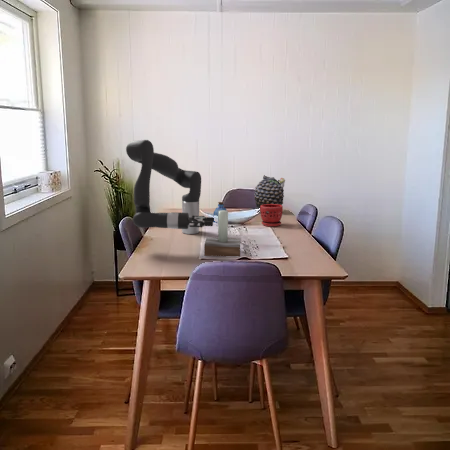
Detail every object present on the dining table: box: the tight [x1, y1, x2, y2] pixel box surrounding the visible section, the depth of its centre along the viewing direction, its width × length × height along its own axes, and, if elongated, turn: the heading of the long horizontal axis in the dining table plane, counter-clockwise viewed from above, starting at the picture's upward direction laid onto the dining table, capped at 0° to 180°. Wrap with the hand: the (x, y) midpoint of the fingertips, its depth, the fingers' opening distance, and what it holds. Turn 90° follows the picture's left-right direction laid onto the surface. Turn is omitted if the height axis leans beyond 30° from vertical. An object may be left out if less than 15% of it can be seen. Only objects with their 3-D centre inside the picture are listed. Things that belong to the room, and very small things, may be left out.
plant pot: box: [259, 204, 284, 227], centre depth 279 cm, size 13×13×12 cm
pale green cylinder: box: [217, 209, 229, 242], centre depth 215 cm, size 4×4×14 cm
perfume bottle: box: [213, 201, 228, 224], centre depth 284 cm, size 6×6×12 cm
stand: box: [203, 237, 241, 257], centre depth 217 cm, size 12×16×6 cm
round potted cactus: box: [253, 174, 286, 213], centre depth 317 cm, size 21×15×25 cm
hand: (213, 221), depth 215 cm, fingers open, 8 cm apart
